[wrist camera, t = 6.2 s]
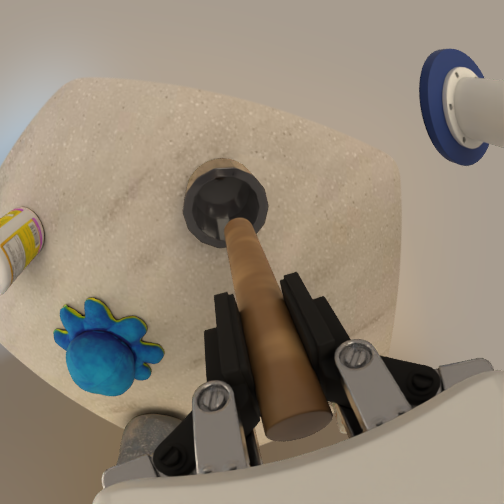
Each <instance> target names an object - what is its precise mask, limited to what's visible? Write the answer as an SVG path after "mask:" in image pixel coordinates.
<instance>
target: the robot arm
mask: <svg viewBox="0 0 504 504" xmlns="http://www.w3.org/2000/svg"><path fill="white" fill-rule="evenodd" d="M442 102H443V110H444V115H445V119H446V122H447V125H448V128H449V130H450V132H451V134H452V136H453V137H454V139H455V140H456V141H457V142H458V143H459V144H460V145H461V146H464V147H466V148H470V149H474V148H477V147H479V146H480V145H481V144H482V143H483V142H485V143H489V144H492V145H495V146H499V147H502V148H504V80H495V79H486V78H478V77H477V76H476V74H475V73H474V72H472V71H471V70H470V69H468V68H465V67H455V68H453V69H451V70H450V71H449V72H448V74H447V76H446V78H445V81H444V84H443V91H442ZM280 284H281V289H282V294H283V299H284V301H285V304H286V306H287V308H288V311H289V313H290V315H291V318H292V320H293V322H294V325H295V327H296V330H297V332H298V334H299V337H300V339H301V342H302V344H303V346H304V349H305V351H306V353H307V356H308V358H309V361H310V363H311V365H312V368H313V369H314V371H315V373H316V375H317V377H318V380H319V382H320V385H321V387H322V389H323V392H324V394H325V397H326V399H327V401H330V402H333V403H335V406H336V408H337V411H338V413H339V416H340V418H341V420H342V423H343V425H344V428H345V430H346V432H347V435H348V437H349V439H347V440H344V441H342V442H340V443H336V444H334V445H331V446H328V447H325V448H322V449H319V450H316V451H313V452H310V453H306V454H303V455H300V456H296V457H293V458H289V459H285V460H281V461H277V462H273V463H269V464H264V465H263V462H262V458H261V453H260V449H259V444H258V440H257V435H256V430H255V426H256V425H257V424H258V422H259V421H260V417H261V414H260V410H259V405H258V401H257V396H256V392H255V383H254V379H253V374H252V370H251V365H250V360H249V356H248V351H247V346H246V341H245V336H244V332H243V327H242V322H241V317H240V312H239V309H238V306H237V304H236V301H235V298H234V295H233V294H231V295H228V293H227V292H225V293H221V294H217V295H214V302H215V313H216V324H217V327H216V328H212V329H208V330H205V331H204V342H205V361H206V377H207V382H206V383H204V384H202V385H201V386H199V387H198V389H197V390H196V391H195V393H194V395H193V398H192V411H191V412H190V413H189V414H188V415H187V417H186V418H185V419H184V420H183V421H182V422H181V423H180V424H179V425H178V426H177V427H176V428H175V429H174V430H173V431H172V432H171V433H170V434H169V435H168V436H167V437H166V438H165V439H164V440H163V441H162V442H161V443H160V444H159V445H158V447H157V448H156V449H155V451H154V453H152V454H150V455H149V454H147V453H146V454H144V455H141V456H139V457H137V458H134V459H132V460H129V461H127V462H124V463H121V464H119V465H116V466H114V467H111V468H109V469H107V470H106V471H105V472H104V473H103V476H102V485H103V488H104V489H103V490H102V491H101V492H99V493H98V494H97V496H96V497H95V499H94V501H93V504H504V371H501V370H495V371H494V369H493V367H492V365H491V363H490V362H489V361H488V360H486V359H484V358H476V359H471V360H467V361H462V362H457V363H453V364H448V365H442V366H439V368H438V369H433V368H431V367H429V366H426V365H420V364H416V363H411V362H406V361H402V360H397V359H393V358H389V357H384V356H380V355H379V354H378V352H377V351H376V349H375V348H374V346H373V345H372V344H371V343H369V342H367V341H365V340H361V339H352V340H351V339H350V338H349V336H348V334H347V333H346V331H345V329H344V328H343V326H342V324H341V323H340V321H339V319H338V318H337V316H336V315H335V313H334V311H333V310H332V308H331V306H330V305H329V303H328V301H327V300H326V298H325V297H324V296H322V297H319V298H316V299H312V298H311V296H310V294H309V292H308V290H307V289H306V287H305V285H304V283H303V282H302V280H301V278H300V276H299V274H298V273H297V272H294V273H291V274H287V275H284V279H283V280H280Z"/></svg>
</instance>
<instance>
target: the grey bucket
mask: <svg viewBox="0 0 504 504" xmlns="http://www.w3.org/2000/svg"><path fill="white" fill-rule="evenodd" d="M181 422H182V421H181V420H179V419H177V418H174V417H171V416H166V415H160V414H145V415H140V416H137V417H135V418H133V419H132V420H131V421H130V422H129V423H128V424H127V426H126V428H125V430H124V433H123V436H122V441H121V445H120V454H119V458H118V462H117V465H119V464H121V463H124V462H127V461H129V460H132V459H134V458H137V457H139V456H141V455H144V454H146V453H147V454H149V455H150V454H152V453H154V451H155V449H156V448H157V447H158V445H159V444H160V443H161V442H162V441H163V440H164V439H165V438H166V437H167V436H168V435H169V434H170V433H171V432H172V431H173V430H174V429H175V428H176V427H177V426H178V425H179V424H180V423H181Z"/></svg>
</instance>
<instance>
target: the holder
mask: <svg viewBox="0 0 504 504" xmlns="http://www.w3.org/2000/svg"><path fill="white" fill-rule="evenodd" d="M267 211H268V201H267V197H266V192H265V189H264V187H263V186H262V185H261V184H260V183H259V181H258V180H257V179H256V178H255V177H254V176H253V174H252V173H251V172H250V171H249V170H248V169H247V168H246V167H245V166H244V165H243V164H241V163H239V162H237V161H234V160H231V159H226V158H218V159H213V160H210V161H207V162H205V163H203V164H202V165H201V166H199V167H198V168H197V169H196V170H195V171H194V172H193V174H192V176H191V177H190V179H189V181H188V184H187V189H186V193H185V199H184V206H183V215H184V218H185V221H186V224H187V227H188V229H189V231H190V232H191V233H192V234H193V235H194V236H195V237H196V238H197V239H198V240H200V241H201V242H202V243H205V244H208V245H211V246H214V247H217V248H227V247H226V241H225V236H224V229H225V226H226V225H227V223H228V222H229V221H231V220H232V219H235V218H244V219H247V220H248V221H249V222H250V223H251V224H252V226H253V228H254V231H255V233H256V234H257V233H258V231H259V230H260V229H261V228H262V226H263V225H264V223H265V220H266V215H267Z"/></svg>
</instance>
